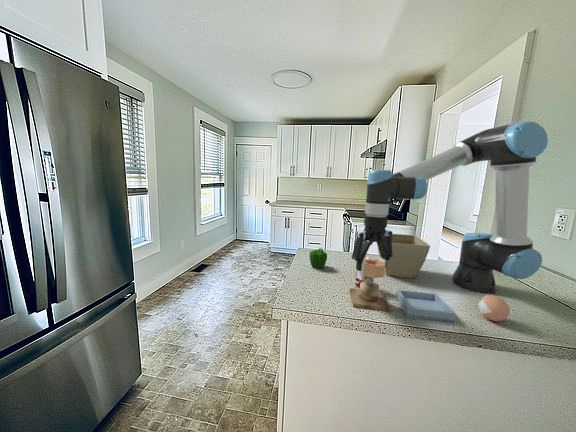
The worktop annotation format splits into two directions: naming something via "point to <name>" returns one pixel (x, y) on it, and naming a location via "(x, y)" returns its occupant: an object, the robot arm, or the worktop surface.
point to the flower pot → (406, 256)
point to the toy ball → (494, 308)
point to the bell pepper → (318, 258)
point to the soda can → (358, 281)
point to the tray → (424, 305)
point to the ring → (373, 268)
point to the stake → (369, 296)
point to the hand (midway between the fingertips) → (370, 277)
